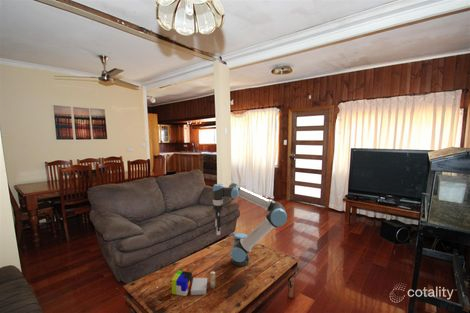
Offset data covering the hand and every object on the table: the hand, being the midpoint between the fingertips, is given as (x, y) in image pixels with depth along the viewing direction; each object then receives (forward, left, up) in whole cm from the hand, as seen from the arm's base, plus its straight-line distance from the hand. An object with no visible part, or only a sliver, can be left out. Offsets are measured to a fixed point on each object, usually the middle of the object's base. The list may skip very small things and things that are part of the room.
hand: (217, 230), depth 165 cm
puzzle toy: (+26, +19, -32) cm, 45 cm away
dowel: (+5, +19, -32) cm, 37 cm away
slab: (+14, +19, -32) cm, 40 cm away
